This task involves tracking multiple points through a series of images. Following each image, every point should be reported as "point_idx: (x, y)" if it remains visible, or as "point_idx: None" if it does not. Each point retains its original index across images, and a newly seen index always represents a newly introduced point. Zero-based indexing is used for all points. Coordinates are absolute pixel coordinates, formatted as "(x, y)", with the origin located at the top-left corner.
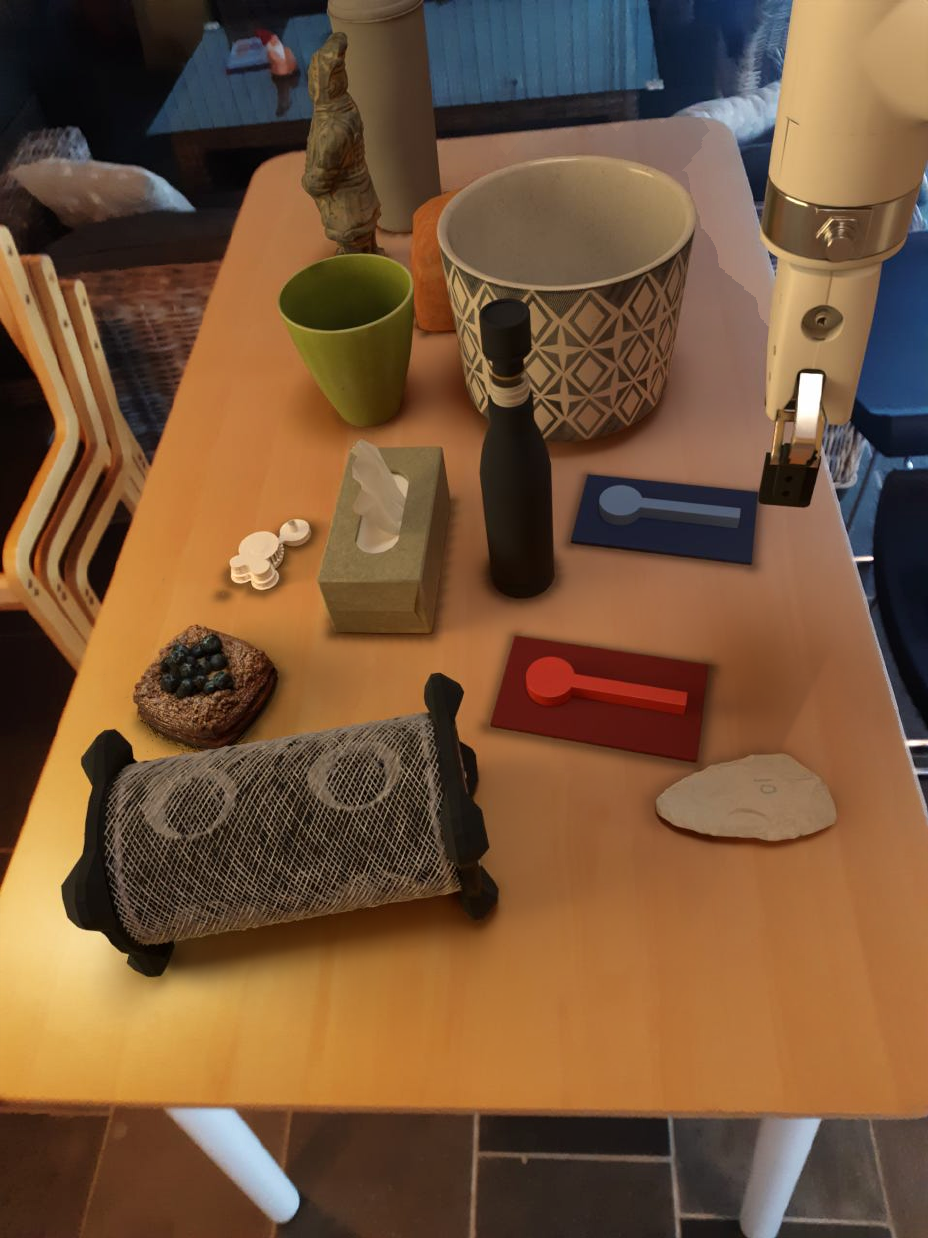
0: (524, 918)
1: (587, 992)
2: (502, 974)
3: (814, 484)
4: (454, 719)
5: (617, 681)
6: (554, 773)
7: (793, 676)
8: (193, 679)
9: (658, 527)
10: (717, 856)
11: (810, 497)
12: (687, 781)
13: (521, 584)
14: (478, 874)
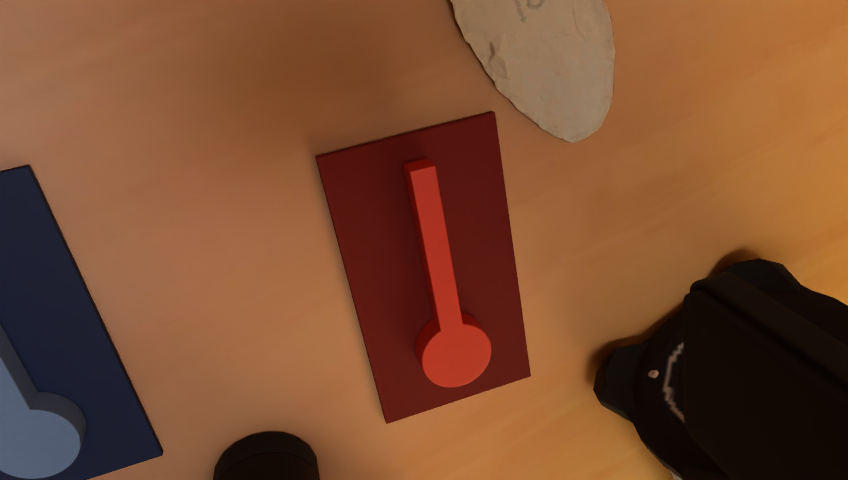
0: (739, 219)
1: (799, 123)
2: (795, 211)
3: (824, 334)
4: None
5: (430, 273)
6: (566, 274)
7: (267, 9)
8: None
9: (42, 353)
10: (619, 34)
11: (759, 295)
12: (538, 113)
13: (315, 472)
14: (835, 310)
